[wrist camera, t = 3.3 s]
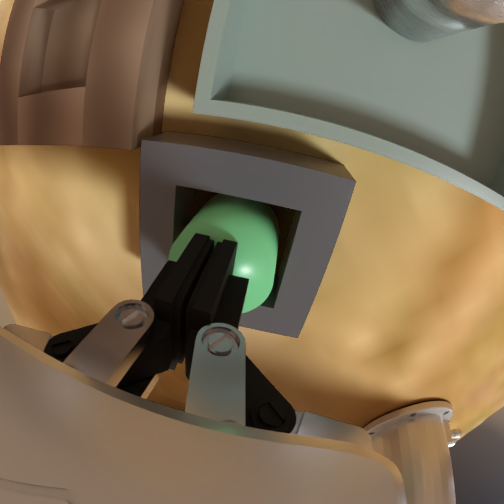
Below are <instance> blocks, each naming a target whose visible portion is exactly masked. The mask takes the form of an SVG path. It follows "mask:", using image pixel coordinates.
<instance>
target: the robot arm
mask: <svg viewBox="0 0 504 504" xmlns="http://www.w3.org/2000/svg"><path fill="white" fill-rule="evenodd" d="M237 246H238V242H235V241H231V240H226V239H224V240H223V242H217V244H216V246H215V248H214V241H213V240H210V236H208V235H203V234H199V233H195V234H194V236H193V237H192V239H191V240H190V242H189V243H188V245H187V246H186V248H185V249H184V251H183V253H182V254H181V256H180V257H179V259H178V260H177V262H175V261H171V260H169V261H167V262H166V264H165V265H164V267H163V268H162V270H161V271H160V273H159V274H158V276H157V277H156V278H155V280H154V281H153V283H152V284H151V286H150V287H149V289H148V291H147V292H146V294H145V295H144V297H143V298H142V300H141V301H139V300H126V301H123V302H120V303H118V304H117V305H116V306H114V307H113V308H112V309H111V311H110V312H109V313H108V314H107V315H106V316H105V317H104V318H103V319H102V320H101V321H100V322H99V323H97V324H93V325H90V326H86V327H83V328H79V329H75V330H72V331H68V332H65V333H61V334H58V335H56V336H54V337H52V335H51V333H47V332H42V331H38V330H35V329H31V328H27V327H23V326H20V325H16V324H9V325H6V326H5V327H4V328H2V327H0V504H456V500H455V489H454V480H453V472H452V466H451V459H450V453H449V447H452V446H453V445H454V444H455V443H456V438H459V437H460V436H461V429H454V430H450V427H449V421H450V420H451V418H452V417H453V413H454V412H453V408H452V405H451V404H450V403H448V402H446V401H429V402H423V403H419V404H414V405H411V406H408V407H404V408H401V409H399V410H396V411H393V412H391V413H388V414H386V415H384V416H382V417H380V418H378V419H376V420H374V421H372V422H371V423H369V424H368V425H367V426H365V427H364V428H361V427H359V426H355V425H351V424H348V423H344V422H340V421H337V420H333V419H330V418H327V417H323V416H320V415H317V414H314V413H311V412H308V411H305V412H304V413H302V412H299V411H296V410H294V409H293V407H292V406H291V404H290V403H289V402H288V401H287V400H286V399H285V398H284V397H283V396H282V395H281V394H280V393H279V392H278V390H277V389H276V388H275V387H274V386H273V385H272V384H271V383H270V382H269V381H268V379H267V378H266V377H265V376H264V375H263V374H262V373H261V372H260V371H259V369H258V368H257V367H256V366H255V365H254V364H253V363H252V361H251V360H250V359H249V358H248V357H247V356H246V354H245V339H244V336H243V335H242V333H241V332H240V331H239V330H238V327H239V323H240V319H241V315H242V310H243V306H244V302H245V297H246V292H247V288H248V283H249V279H248V278H243V277H239V276H234V275H233V269H234V263H235V257H236V251H237ZM213 249H214V250H213ZM184 358H185V363H186V377H187V378H188V380H189V385H188V392H187V399H186V406H185V412H184V411H180V410H177V409H174V408H171V407H167V406H164V405H161V404H158V403H155V402H152V401H149V400H147V397H148V396H149V394H150V393H151V391H152V389H153V388H154V386H155V385H156V383H157V382H158V380H159V378H160V375H161V373H162V372H164V371H167V370H168V369H169V368H170V369H173V370H175V367H176V365H177V362H178V363H181V364H182V363H183V361H184ZM371 449H372V450H371Z"/></svg>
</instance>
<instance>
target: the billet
mask: <svg viewBox="0 0 504 504" xmlns="http://www.w3.org/2000/svg"><path fill="white" fill-rule="evenodd" d="M373 4H374V7H375V9H376V11H377V13H378V15H379V16H380V18H381V19H382V20H383V21H384V23H385V24H386V25H387V26H388V27H390V28H391V29H392V30H393V31H395V32H396V33H397V34H399V35H401V36H402V37H404V38H406V39H409V40H411V41H415V42H420V43H428V42H432V41H435V40H438V39H441V38H445V37H448V36H451V35H454V34H458V33H461V32H465V31H469V30H472V29H476V28H480V27H484V26H489V25H493V24H498V23H503V22H504V0H373Z"/></svg>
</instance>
